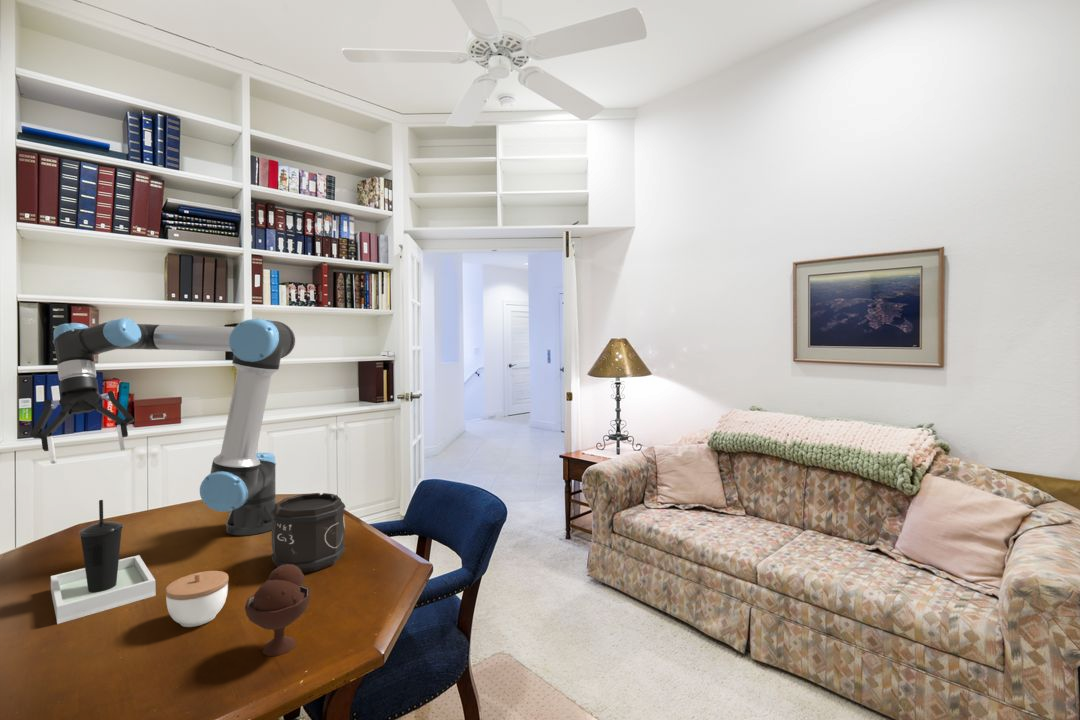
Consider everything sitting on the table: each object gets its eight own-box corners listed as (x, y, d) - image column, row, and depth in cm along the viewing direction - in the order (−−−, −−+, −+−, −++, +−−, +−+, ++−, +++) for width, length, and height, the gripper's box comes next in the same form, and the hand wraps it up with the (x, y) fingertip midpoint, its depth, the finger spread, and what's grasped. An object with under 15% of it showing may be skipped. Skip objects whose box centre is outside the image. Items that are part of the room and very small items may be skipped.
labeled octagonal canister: (348, 543, 143) (347, 488, 143) (343, 569, 126) (343, 507, 126) (278, 550, 138) (277, 494, 138) (263, 579, 121) (262, 515, 120)
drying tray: (50, 591, 115) (50, 576, 115) (139, 568, 126) (139, 555, 126) (57, 624, 101) (56, 607, 101) (155, 595, 113) (155, 580, 113)
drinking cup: (132, 582, 116) (130, 497, 116) (94, 598, 109) (92, 507, 109) (110, 577, 119) (108, 494, 118) (71, 592, 112) (69, 503, 111)
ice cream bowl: (261, 632, 98) (260, 557, 98) (320, 629, 99) (319, 555, 99) (233, 666, 88) (232, 582, 87) (299, 663, 89) (298, 580, 88)
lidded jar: (240, 607, 108) (240, 564, 108) (202, 635, 97) (201, 587, 97) (194, 604, 109) (194, 561, 109) (152, 632, 98) (151, 585, 98)
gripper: (138, 376, 145) (150, 447, 141) (16, 391, 130) (25, 471, 126) (135, 368, 139) (147, 441, 135) (8, 382, 124) (17, 465, 120)
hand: (89, 455), depth 131 cm, fingers open, 13 cm apart
